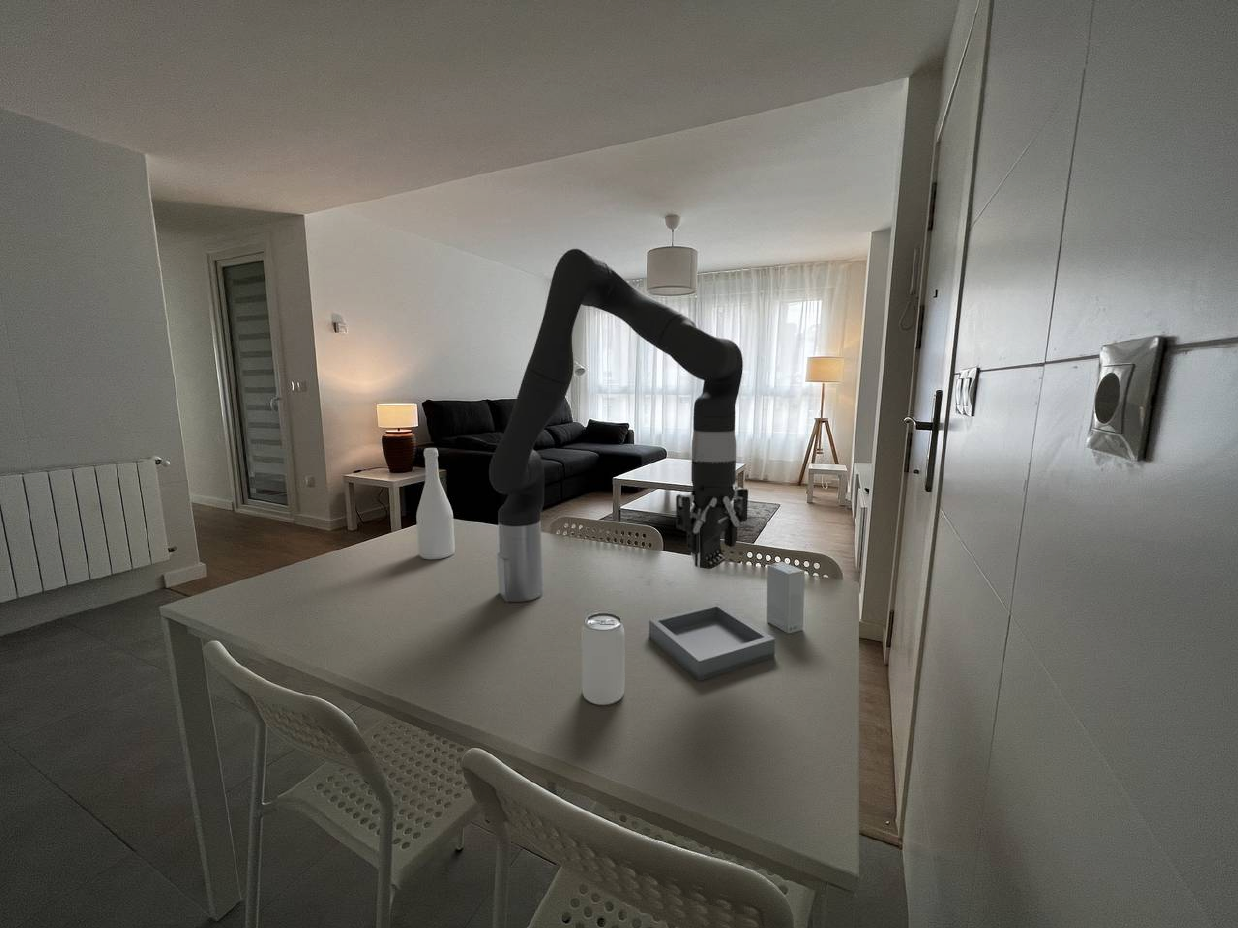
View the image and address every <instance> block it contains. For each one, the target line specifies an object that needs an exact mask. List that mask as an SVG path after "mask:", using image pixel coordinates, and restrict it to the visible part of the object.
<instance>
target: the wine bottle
mask: <svg viewBox="0 0 1238 928" xmlns="http://www.w3.org/2000/svg"><path fill="white" fill-rule="evenodd" d="M438 457H439V451H438V449H437V448H436V447H428V448H424V451H423V458H424V465H425V468H424V469H425V471H424V472H425V480H424V485H423V489H422V493H421V496H420V500H419V502H418V503H419V504H418V505H417V509H416V513H415V514H416V515H415V518H416V519H415V520H416V530H417V531H416V532H417V546H418V547H417V549H418V555H419V557H420V558H421V559H425V560H441V559H445V558H448V557H450V556H451V555H453V554H454V552H455V549H456V548H455V547H456V545H455V531H454V529H455V528H454V513H453V509H452V505H451V504H450V502H449V499H448V497H447V495H446V492H445V490H444V487H443V486H442V485H443V484H442V482H441V479H440V475H439V471H440V470H439V460H438Z"/></svg>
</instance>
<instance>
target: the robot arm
mask: <svg viewBox="0 0 1238 928" xmlns="http://www.w3.org/2000/svg"><path fill="white" fill-rule="evenodd" d="M581 305H582V306H585V307H591V308H596V309H598V310H601V311H603V312H606V313H609V314H610V315H613V316H615V317H617V318H619V319H620V320H621V321H623V322H624V323H626V325H628V326H629V327H630V328H631V329H632V330H633V331H634V332H635V333H636V334H637V335H638V336H639V337H641V338H642V339H643V340H645V341H646V342H648V343H649V344H651V345H653V347H655V348H657V349H658V350H660V351H662V352H664V353H665V354H666V355H669V356H670V357H671V358H672V359H673V360H674V361H675V362H676V363H677V364H678V365H679V366H680V367H681V368H682V369H683V370H684V371H686V372H687V373H688V374H690V375H691V376H694V377H695V378H697V379H699V380H702V381H703V387H702V393H701V395H700V396H699V397H698V398H696V399H695V401H694V405H693V424H692V425H693V429H692V430H693V431H692V433H693V434H692V440H691V472H690V473H691V476H690V477H691V478H690V479H691V484H692V491H691V493H689V494H681V493H679V494H677V495H676V497H675V499H676V500H675V511H676V512H675V516H676V518H675V519H676V520H675V521H676V523H675V524H676V528H677V529H679V530H682V531H684V532H686V549H688V551H689V553H691V554H694V555H695V554H698V553H699V543H700V533H698V531H699V529H700V528H701V526H702V524H703V523H704V522H705V521H706V516H705V515H706V513H707V511H708V509H709V508H710V507H714V506H715V504H721V505H723V506H724V508H725V510H726V511H727V513H728V514H727V515H728V518H729V529H727V530H725V531H724V536H723V537H724V541H723V542H724V545H725V546H726V547H730V548H732V547H733V548H734V547H735V546H736V544H737V541H738V526H739V525H740V524H741V523H742V522H743V523H744V522H746V521H747V520H748V505H749V489H747V488H744V487H740V486H735V487H734V485H735V484H736V478H737V477H736V476H737V475H736V473H737V472H736V471H737V470H736V468H737V467H736V466H737V439H736V404H737V399H738V396H739V392H740V387H741V382H742V377H743V376H742V375H743V368H744V367H743V366H744V365H743V363H744V361H743V360H744V359H743V354H742V351H741V349H740V347H739V346H738V344H737V343H736V342H734V341H733V340H730V339H726V338H721V337H715V336H713V335H711V334H709V333H707V332H706V331H703V330H702V329H701V328H699V327H697V325H696V324H695V322H694V321H693V320H691V319H690V318H688V317H687V316H685V315H684V314H682V313H680V312H679V311H677V310H675V309H674V308H672V307H670V306H669V305H667V304H665V303H663V302H661V301H659V300H657V299H655V298H654V297H651V296H649V295H647V294H645V293H643V292H642V291H640V290H639V289H637V288H635V287H634V286H633V285H632V284H630V283H629V282H628V281H626V280H625V279H624V278H623V277H622V276H621V275H620V274H619V273H618V272H616V270H614V269H613V268H612V267H611V266H610V265H609V264H608V263H607V262H606V261H605V260H604V259H602V258H600V257H598V256H595V255H593V254H591V253H589V252H587V251H585V250H583V249H580V248H571V249H569V250H567V251H566V252H564V253H563V254H562V256H561V257H560V259H559V260H558V262H557V264H556V266H555V269H554V272H553V275H552V278H551V282H550V286H549V291H548V295H547V300H546V304H545V308H544V313H543V317H542V319H541V323H540V327H539V330H538V333H537V337H536V340H535V343H534V346H533V349H532V352H531V355H530V358H529V360H528V364H527V366H526V368H525V372H524V375H523V377H522V381H521V384H520V388H519V391H518V394H517V397H516V399H515V402H514V405H513V408H512V410H511V414H510V417H509V420H508V422H507V425H506V426H505V429H504V432H503V434H502V436H501V438H500V441H499V442H498V445H497V447H496V449H495V451H494V453H493V455H492V458H491V460H490V463H489V467H488V468H489V469H488V475H489V476H488V477H489V480H490V481H489V482H490V484H491V487H493V489H494V490H495V491H496V492H497V493H499V494H504V495H507V497H506V500H505V502H504V503H503V504H502V505H501V506H500V508H499V509H498V513H497V519H498V539H499V541H498V543H499V551H498V552H497V574H498V593H499V595H500V597H501V598H502V599H503V601H504V602H505V603H509V602H510V603H511V602H513V603H519V602H520V603H523V602H530V601H533V600H535V599H538V598H539V597H541V596H542V594H543V592H544V591H543V555H542V551H543V550H542V526H541V525H542V522H541V521H542V520H541V518H542V517H541V514H542V510H543V507H544V503H545V467H544V463H543V460H542V458H541V456H540V454H539V453H538V452H537V451H536V450H534V446H535V444H536V442H537V440H538V438H539V436H540V435H541V433H542V432H543V430H544V429H545V428H547V425H548V424H549V423H550V421H551V420H552V419H553V418H554V417H555V415H556V413H557V412H558V411H559V409H560V408H561V406H562V405H563V404H564V403H563V402H564V400H565V398H566V395H567V393H568V390H569V387H570V384H571V382H572V379H573V375H574V367H575V366H574V365H575V364H574V350H573V331H574V326H575V323H576V320H577V317H578V314H579V311H580V308H581ZM732 501H733V505H732ZM697 506H698V507H699V508H700V509H701V510H703V511H702V513H701V514H700V515H698V514H695V512H696V508H697ZM691 507H692V508H691ZM695 518H696V521H695Z"/></svg>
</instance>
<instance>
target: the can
mask: <svg viewBox="0 0 1238 928" xmlns="http://www.w3.org/2000/svg"><path fill="white" fill-rule="evenodd" d="M583 621H584V624H583V626H582V628H581V683H582V684H581V686H582V689H581V690H582V695H583V697H584V699H585V700H586V701H587V702H589V703H590V704H592V705H596V706H610V705H613V704H615V703H617V702H619V701H620V700H621V699H622V698H623V696H624V694H625V629H624V626H623V624H622V619H621V617H620V616H618V615H617V614H615V613H612V612H595V613H592V614H589V615H588V616H586V617H585V618H584V620H583Z"/></svg>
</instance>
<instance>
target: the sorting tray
mask: <svg viewBox="0 0 1238 928" xmlns="http://www.w3.org/2000/svg"><path fill="white" fill-rule="evenodd" d="M648 638H650V639H651V640H652V641H653V642H654V643H655V644H656V645H657V646H658V647H659V648H661V649H662V650H663V652H665V653H666V654H667V655H669V657H671V658H672V659H673V660H674V662H676V663H677V664H678V665H679V666H680V667H682V668H683V669H684V670H686V672H687V673H689V675H691V676H692V677H693V678H694V679H695V680H696V681H698V682H702V681H704V680H708V679H711V678H715V677H717V676H720V675H723V674H727V673H730V672H733V671H736V670H739V669H742V668H745V667H748V666H751V665H755V664H758V663H761V662H764V661H767V660H770V659H773V658H775V651H776V650H775V649H776V648H775V647H776V638H775V637H774V636H771V635H770V634H769V633H767V632H766V631H764V630H762V629H760V628H759V627H757V626H756V625H754V624H753V623H751V622H749V621H748V620H746V619H744V618H743V617H741V616H739V615H738V614H736V613H735V612H733V611H732V610H730V609H728V608H726V607H725V606H723V605H722V604H720V603H719V602H717V603H713V604H709V605H704V606H700V607H695V608H692V609H688V610H683V611H680V612H676V613H672V614H666V615H662V616H659V617H658V616H657V617H655V618H650V619H648Z"/></svg>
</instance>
